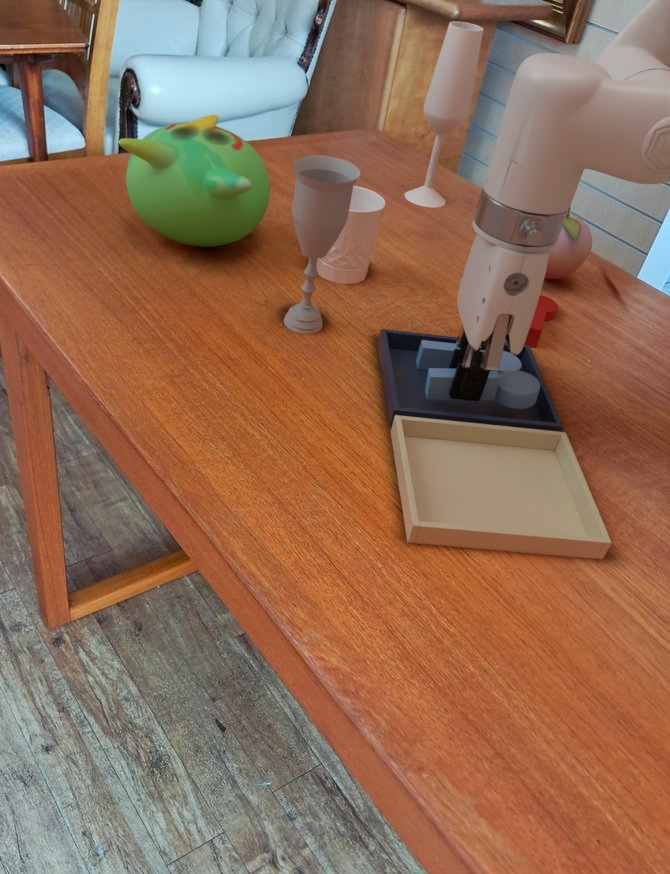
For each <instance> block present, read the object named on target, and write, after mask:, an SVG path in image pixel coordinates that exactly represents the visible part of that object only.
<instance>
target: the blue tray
mask: <svg viewBox="0 0 670 874" xmlns="http://www.w3.org/2000/svg"><path fill="white" fill-rule="evenodd" d="M457 337H458V336H449V335H441V334H431V333H423V332H414V331H412V332H411V331H405V330H396V329H386V328H380V330H379V334H378V339H377V343H376V346H377V347H376V348H377V353H378V357H379V358H378V360H379V365H380V372H381V378H382V385H383V392H384V397H385V405H386V412H387V417H388V424H389V425H388V426H389V427H390V428H392V424H393V421H394V417H395V415H399V416H409V417H419V418H429V419H439V420H449V421H459V422H469V423H479V424H489V425H499V426H508V427H518V428H528V429H538V430H548V431H558V432H563V430H564V424H563V423H562V420H561V417H560V415H559V412H558V410H557V408H556V405H555V403H554V401H553V398H552V396H551V394H550V391H549V389H548V386H547V384H546V382H545V379H544V377H543V374H542V372H541V370H540V367H539V364H538V362H537V360H536V357H535V354H534V352H533V350H532V347H530V345H524V346H523V349H522V351H521V352H520V353H519V354H518V355H515V356H516V357H517V358H518V359H519V360H520V361H521V364H522V367H521V369H520V371H522V372H526V373H528V374H531V375H532V376H534V377H535V378H536V379H537V380H538V381H539V383H540V389H539V393H538V396H537V400H536V403H535V404H534V405H533V406H531V407H529V408H525V409H514V408H509V407H506V406H504V405H502V404H500V403H499V402H498V401H496V399H495V401H483V400H479V401H469V400H427V398H426V393H425V387H426V381H427V375H428V370H420V369H417V365H416V358H417V355H418V351H419V347H420V344H421V340H427V341H436V342H446V343H455V344H456V342H457ZM485 351H486V349H485ZM503 351H506V352H509V353H510V351H509V348H508V345H507V343H506V342H505V343H504V347H503ZM511 354H512V353H511ZM513 355H514V354H513Z"/></svg>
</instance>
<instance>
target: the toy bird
mask: <svg viewBox="0 0 670 874" xmlns="http://www.w3.org/2000/svg"><path fill="white" fill-rule="evenodd" d="M218 121H219V116H218V114H208V115H205V116H202V117H199V118H196V119H195V120H192V121H190V122H178V123H172V124H168V125H165V126H162V127H159V128H156V129H155V130H152V131H150V133H148V134H146V135H145V136H144V137H143V138H142V139H141V138H131V137H125V138H123V137H122V138H120V139H119V140H118V142H117V143H118V145H119V146H120V147H121V148H122V149H123V150H125V151H127V152H128V153H130V154H131V155H130V157H129V160H128V162H127V166H126V172H125V185H126V191H127V195H128V198H129V202H130V204H131V205H132V208H133V209H134V211H135V212H136V214H137V215H138V217H139V218H140V219H141V220H142V221H143V222H144V224H145V225H147V226H148V227H149V228H150V229H152V230H153V231H154V232H155V233H157V234H159V235H160V236H162V237H165V238H167V239H169V240H171V241H174V242H175V243H176V242H177V243H180V244H184V245H187V246H192V247H193V246H194V247H203V248H204V247H208V248H209V247H219V246H224V245H228V244H232V243H234V242H237V241H239V240H241V239H244V238H245V237H246V236H248V235H249V234H250V233H251V232H253V231H254V230H255V228H257V226H259V224H260V223H261V221H262V220H263V218H264V216H265V214H266V212H267V209H268V206H269V202H270V195H271V184H270V183H271V182H270V177H269V173H268V170H267V167H266V164H265V163H264V161H263V159H262V157H261V156H260V155H259V153H258V152H257V150H256V149H255V148H254V147H253V145H251V144H250V143H249V142H247V141H246V140H245V139H243V138H242V137H240V135H237V134H236V133H233V132H232V131H230V130H228V129H225V128H222V127H220V126H217V124H218Z"/></svg>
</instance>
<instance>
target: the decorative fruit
mask: <svg viewBox="0 0 670 874" xmlns="http://www.w3.org/2000/svg"><path fill="white" fill-rule="evenodd" d="M570 211H571V206H570V208H569V211H568V214H567V216H566V219H565V222H564V225H563V227H562V230H561V233H560V235H559V238H558V241H557V243H556V246H555V247H554V248H553V249H551V250H549V258H548V263H547V268H546V273H545V277H544V280H552V279H553V280H554V279H560V278H561V279H562V278H565V277H568V276H569V275H571V274H572V273H574V272H575V271H577V270H578V269H579V268H580V267H581V266H582V265H583V264H584V263H585V262H586V260H587V259H588V257H589V255H590V253H591V251H592V247H593V236H592V232H591V229H590V227H589V226H588V225H587V223H586V222H585V221H584V220H583V219H582V218H581V217H579V216H577V215H575V214H572V213H570Z"/></svg>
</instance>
